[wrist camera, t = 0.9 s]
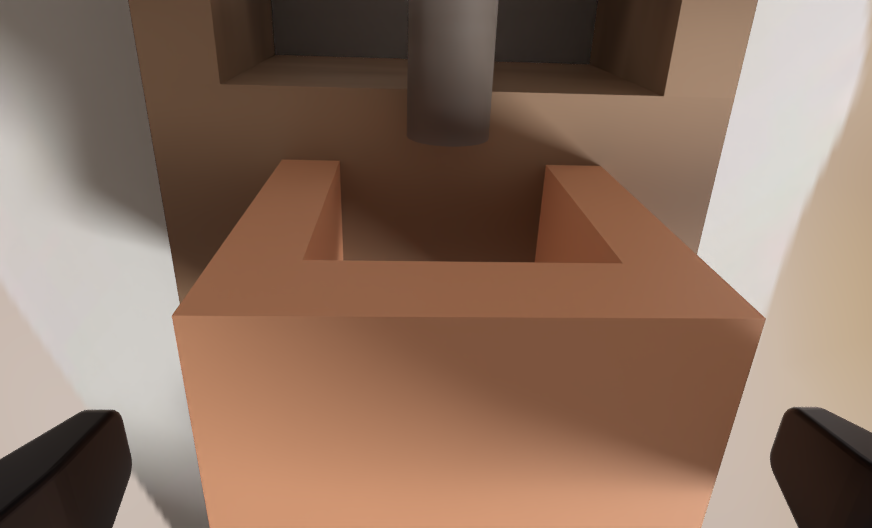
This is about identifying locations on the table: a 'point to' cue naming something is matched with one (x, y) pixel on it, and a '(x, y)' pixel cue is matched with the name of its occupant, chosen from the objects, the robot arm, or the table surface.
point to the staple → (461, 370)
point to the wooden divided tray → (435, 122)
